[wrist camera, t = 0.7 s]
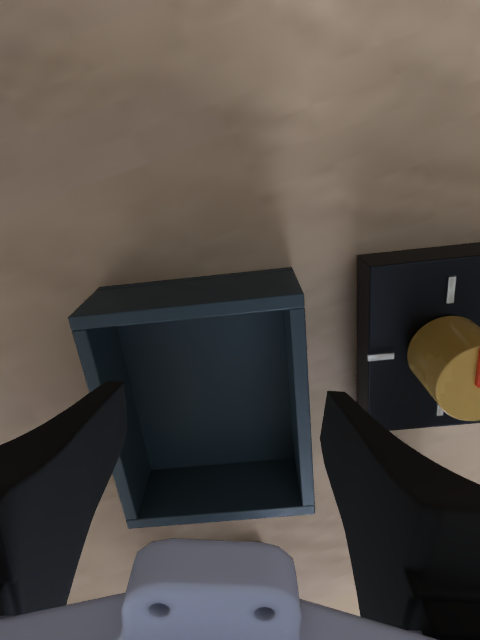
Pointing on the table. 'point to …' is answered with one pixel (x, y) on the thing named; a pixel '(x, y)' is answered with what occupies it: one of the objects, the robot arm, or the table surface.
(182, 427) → the dark teal open box
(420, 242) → the table surface
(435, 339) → the tap knob
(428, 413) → the block
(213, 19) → the table surface
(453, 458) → the table surface
